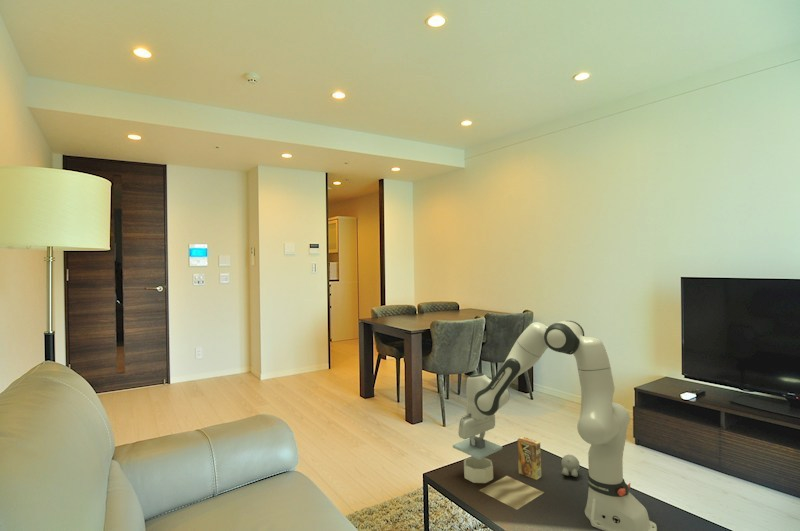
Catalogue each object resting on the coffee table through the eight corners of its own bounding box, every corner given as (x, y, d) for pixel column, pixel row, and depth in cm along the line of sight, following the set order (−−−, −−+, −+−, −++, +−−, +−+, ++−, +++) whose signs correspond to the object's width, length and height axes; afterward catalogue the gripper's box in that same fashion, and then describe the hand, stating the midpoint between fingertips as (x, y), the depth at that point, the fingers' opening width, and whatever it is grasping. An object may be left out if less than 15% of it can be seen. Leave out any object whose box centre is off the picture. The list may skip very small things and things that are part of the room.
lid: (502, 448, 180) (502, 439, 180) (479, 459, 171) (479, 449, 171) (475, 438, 192) (475, 429, 192) (452, 447, 182) (452, 438, 182)
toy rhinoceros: (580, 477, 184) (581, 456, 187) (578, 478, 174) (579, 456, 177) (563, 473, 187) (564, 453, 190) (560, 474, 177) (560, 452, 180)
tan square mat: (544, 493, 167) (544, 492, 167) (516, 511, 155) (516, 509, 155) (506, 476, 181) (506, 475, 181) (479, 491, 169) (479, 490, 169)
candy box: (541, 477, 179) (540, 441, 179) (536, 481, 176) (535, 444, 176) (523, 470, 186) (522, 436, 186) (517, 474, 183) (517, 438, 183)
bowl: (498, 477, 180) (498, 463, 180) (480, 487, 173) (479, 472, 173) (476, 467, 190) (476, 454, 190) (458, 476, 182) (458, 462, 182)
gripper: (466, 419, 172) (466, 452, 172) (497, 407, 185) (498, 439, 185) (454, 415, 177) (455, 447, 177) (486, 404, 190) (486, 435, 190)
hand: (477, 443), depth 181 cm, fingers closed on lid, 3 cm apart
